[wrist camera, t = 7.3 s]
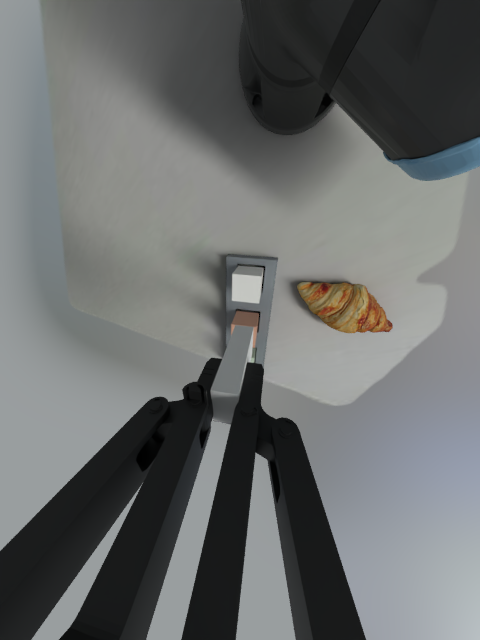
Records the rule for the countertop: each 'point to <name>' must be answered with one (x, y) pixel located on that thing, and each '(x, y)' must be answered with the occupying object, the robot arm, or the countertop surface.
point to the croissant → (345, 307)
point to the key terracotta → (246, 322)
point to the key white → (247, 284)
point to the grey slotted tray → (263, 305)
